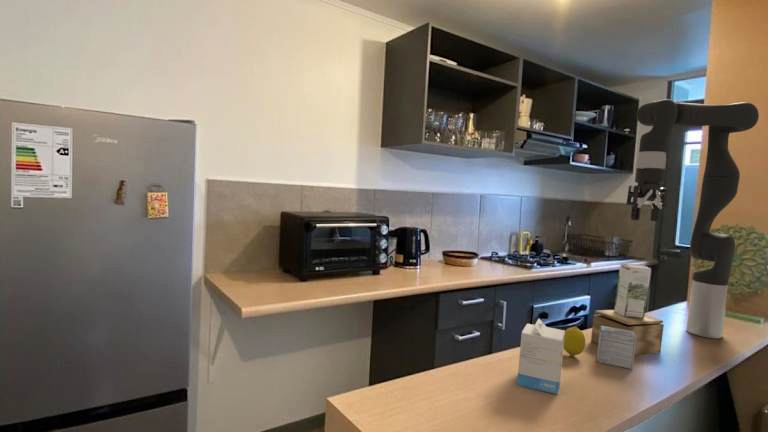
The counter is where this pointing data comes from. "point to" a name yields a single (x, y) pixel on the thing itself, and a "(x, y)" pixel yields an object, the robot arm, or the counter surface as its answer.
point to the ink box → (541, 357)
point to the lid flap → (628, 318)
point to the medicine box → (616, 347)
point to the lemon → (574, 341)
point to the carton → (645, 333)
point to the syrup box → (632, 290)
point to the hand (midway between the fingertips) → (644, 220)
